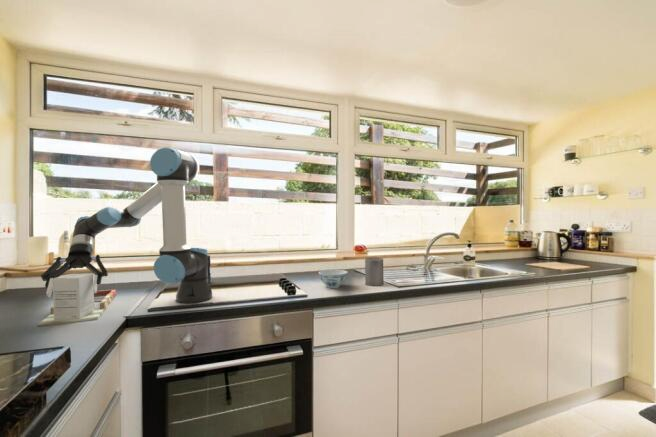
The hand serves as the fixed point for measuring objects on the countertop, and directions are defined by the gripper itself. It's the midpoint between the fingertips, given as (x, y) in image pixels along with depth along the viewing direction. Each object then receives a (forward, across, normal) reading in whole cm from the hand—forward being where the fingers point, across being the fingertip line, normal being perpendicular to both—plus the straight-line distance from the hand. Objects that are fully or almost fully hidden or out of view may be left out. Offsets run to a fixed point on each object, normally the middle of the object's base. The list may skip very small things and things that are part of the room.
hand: (71, 293), depth 120 cm
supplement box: (+5, 0, -8) cm, 9 cm away
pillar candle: (+8, -130, -6) cm, 131 cm away
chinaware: (+4, -108, -10) cm, 109 cm away
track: (-4, 0, -18) cm, 18 cm away
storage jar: (-23, -47, -37) cm, 64 cm away
